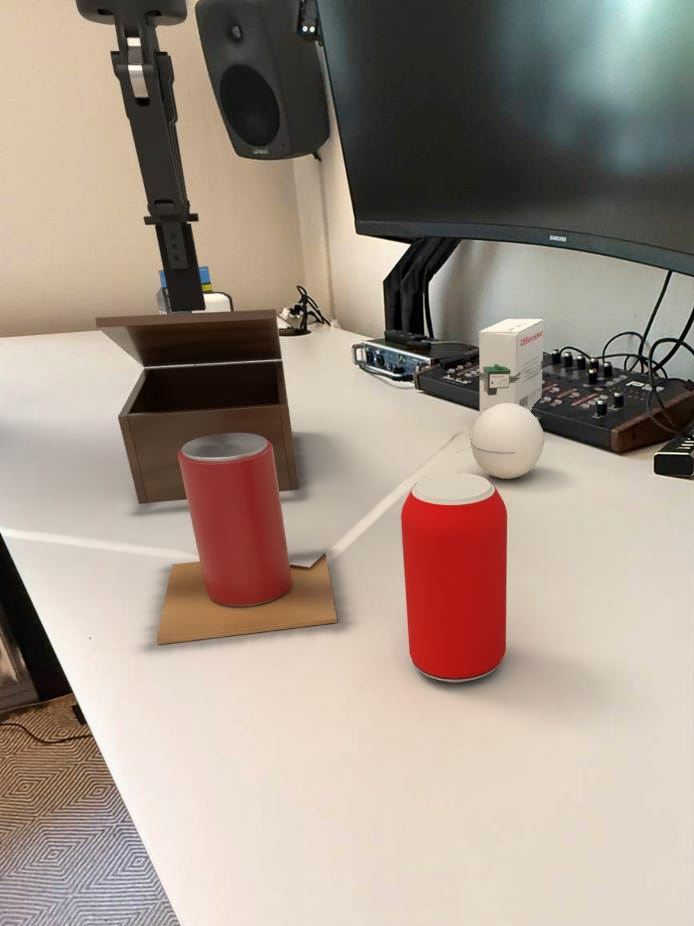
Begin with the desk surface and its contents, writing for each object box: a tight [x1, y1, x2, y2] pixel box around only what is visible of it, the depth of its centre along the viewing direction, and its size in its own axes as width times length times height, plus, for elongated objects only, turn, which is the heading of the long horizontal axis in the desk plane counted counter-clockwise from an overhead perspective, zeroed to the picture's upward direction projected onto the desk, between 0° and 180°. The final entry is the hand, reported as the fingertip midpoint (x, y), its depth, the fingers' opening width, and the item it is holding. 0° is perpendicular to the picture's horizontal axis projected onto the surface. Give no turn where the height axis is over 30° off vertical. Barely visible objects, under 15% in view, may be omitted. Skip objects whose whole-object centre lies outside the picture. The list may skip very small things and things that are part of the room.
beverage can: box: [400, 472, 508, 683], centre depth 48 cm, size 6×6×12 cm
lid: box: [94, 308, 283, 368], centre depth 77 cm, size 20×15×1 cm
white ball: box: [455, 403, 545, 480], centre depth 79 cm, size 10×7×7 cm
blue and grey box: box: [155, 265, 214, 315], centre depth 140 cm, size 9×4×12 cm, turn 130°
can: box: [178, 433, 292, 607], centre depth 57 cm, size 6×6×11 cm
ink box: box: [478, 318, 545, 421], centre depth 93 cm, size 9×5×12 cm, turn 156°
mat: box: [156, 552, 338, 645], centre depth 60 cm, size 12×12×1 cm
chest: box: [117, 359, 300, 505], centre depth 81 cm, size 20×15×9 cm
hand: (188, 309), depth 68 cm, fingers closed
